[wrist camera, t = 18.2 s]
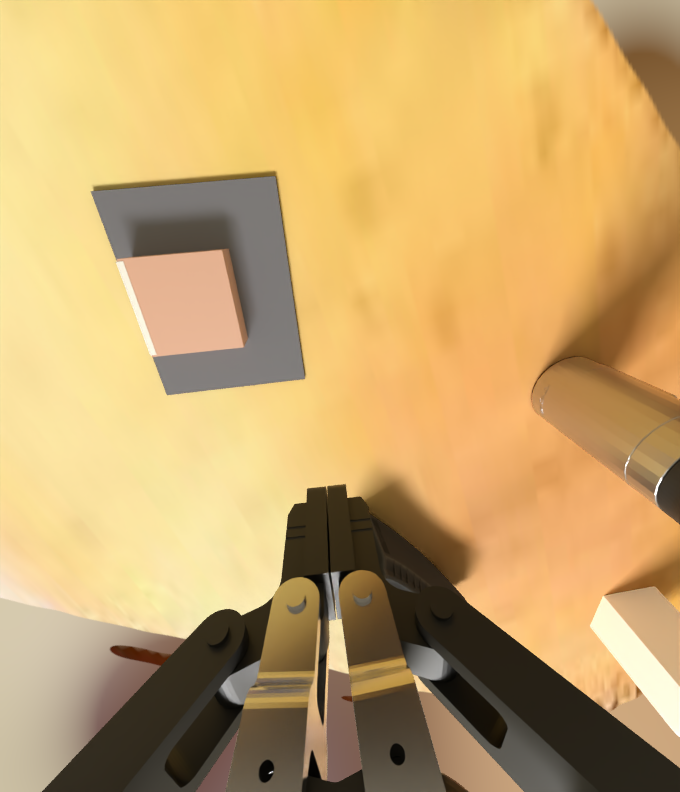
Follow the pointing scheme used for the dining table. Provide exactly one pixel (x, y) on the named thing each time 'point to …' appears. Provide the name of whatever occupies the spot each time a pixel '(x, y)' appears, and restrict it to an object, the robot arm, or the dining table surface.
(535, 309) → the dining table surface
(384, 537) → the magazine
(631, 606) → the milk
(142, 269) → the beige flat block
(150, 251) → the mat
